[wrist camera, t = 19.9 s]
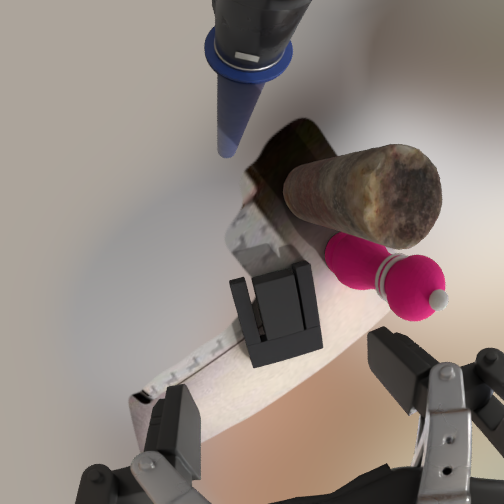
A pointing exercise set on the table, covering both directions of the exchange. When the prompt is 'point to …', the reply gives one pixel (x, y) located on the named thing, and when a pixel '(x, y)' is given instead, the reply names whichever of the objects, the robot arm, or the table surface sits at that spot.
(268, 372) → the table surface
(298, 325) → the black block
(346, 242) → the pepper mill
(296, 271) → the black u-shaped piece
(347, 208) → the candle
